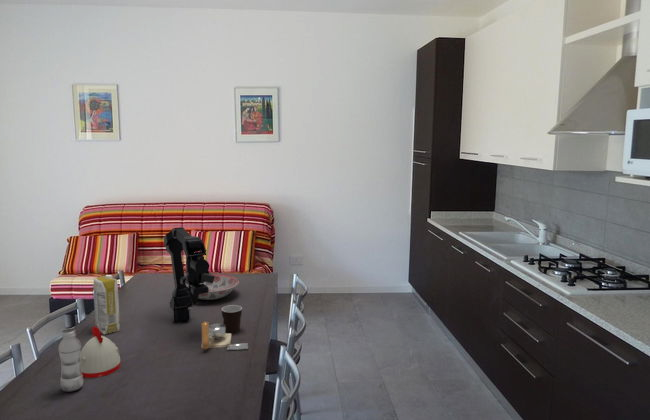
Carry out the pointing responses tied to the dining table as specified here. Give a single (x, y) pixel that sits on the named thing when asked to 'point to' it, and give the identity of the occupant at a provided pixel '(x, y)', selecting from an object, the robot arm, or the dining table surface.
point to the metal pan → (211, 332)
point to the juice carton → (106, 304)
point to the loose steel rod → (237, 346)
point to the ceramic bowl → (219, 287)
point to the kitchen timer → (99, 356)
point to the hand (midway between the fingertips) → (194, 304)
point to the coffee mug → (232, 318)
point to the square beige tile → (219, 341)
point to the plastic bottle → (70, 361)
